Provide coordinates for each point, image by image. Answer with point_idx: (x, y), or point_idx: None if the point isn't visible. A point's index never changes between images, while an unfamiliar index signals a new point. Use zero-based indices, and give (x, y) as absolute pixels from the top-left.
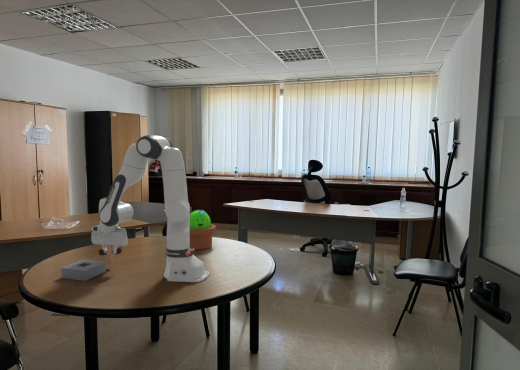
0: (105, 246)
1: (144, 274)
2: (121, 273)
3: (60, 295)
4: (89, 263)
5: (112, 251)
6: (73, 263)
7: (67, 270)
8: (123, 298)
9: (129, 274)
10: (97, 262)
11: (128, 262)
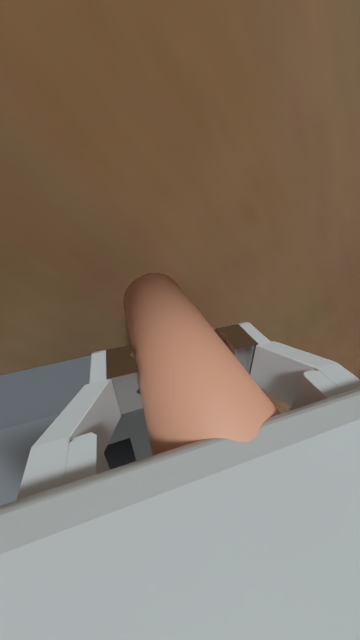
0: (84, 435)
1: (354, 281)
2: (257, 318)
3: None
4: (108, 444)
5: None
6: (2, 500)
7: None
8: None
9: (296, 311)
10: (139, 411)
11: (171, 64)
